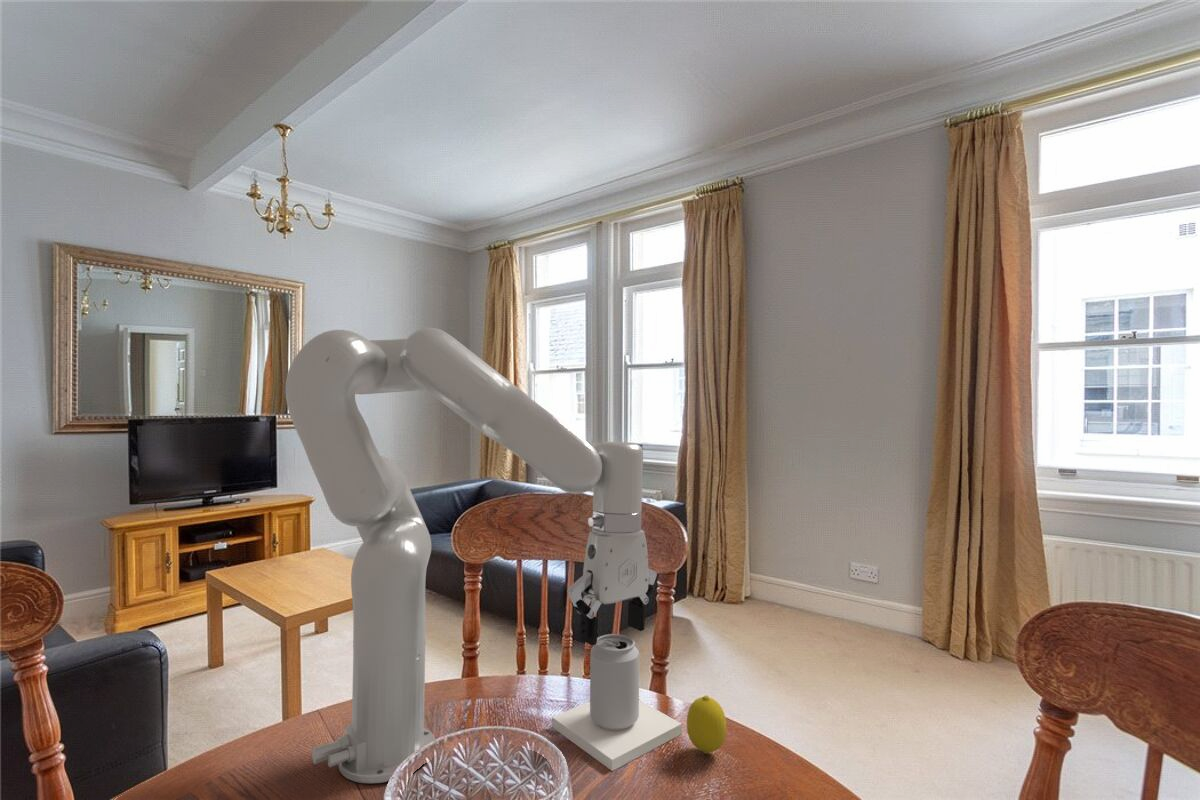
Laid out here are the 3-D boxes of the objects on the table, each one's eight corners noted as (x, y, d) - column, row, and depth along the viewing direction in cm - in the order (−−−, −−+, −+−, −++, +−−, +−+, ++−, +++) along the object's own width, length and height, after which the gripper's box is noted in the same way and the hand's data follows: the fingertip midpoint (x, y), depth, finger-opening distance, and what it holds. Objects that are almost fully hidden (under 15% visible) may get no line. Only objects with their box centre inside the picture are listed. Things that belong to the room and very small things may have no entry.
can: (636, 736, 81) (637, 652, 81) (585, 731, 82) (586, 649, 82) (640, 709, 88) (640, 632, 89) (593, 705, 89) (594, 629, 90)
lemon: (726, 767, 76) (726, 708, 77) (685, 762, 77) (685, 703, 78) (725, 744, 82) (725, 689, 82) (687, 740, 83) (687, 685, 83)
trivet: (612, 771, 75) (612, 759, 75) (551, 726, 86) (552, 716, 86) (681, 733, 84) (681, 723, 84) (619, 698, 95) (619, 689, 95)
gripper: (588, 532, 78) (584, 657, 77) (672, 521, 89) (669, 630, 88) (556, 523, 84) (552, 640, 83) (639, 514, 95) (636, 616, 94)
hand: (613, 635), depth 86 cm, fingers open, 9 cm apart
